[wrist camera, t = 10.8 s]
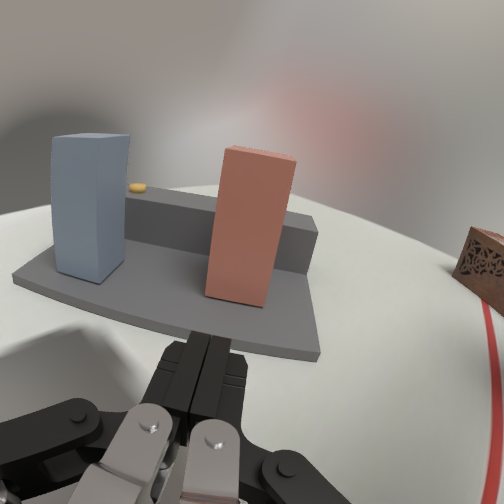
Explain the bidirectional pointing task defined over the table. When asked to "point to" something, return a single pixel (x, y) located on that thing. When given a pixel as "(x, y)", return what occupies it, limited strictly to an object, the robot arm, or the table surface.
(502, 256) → the tissue box cover
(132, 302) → the console
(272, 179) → the red key
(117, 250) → the blue key
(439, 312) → the table surface
